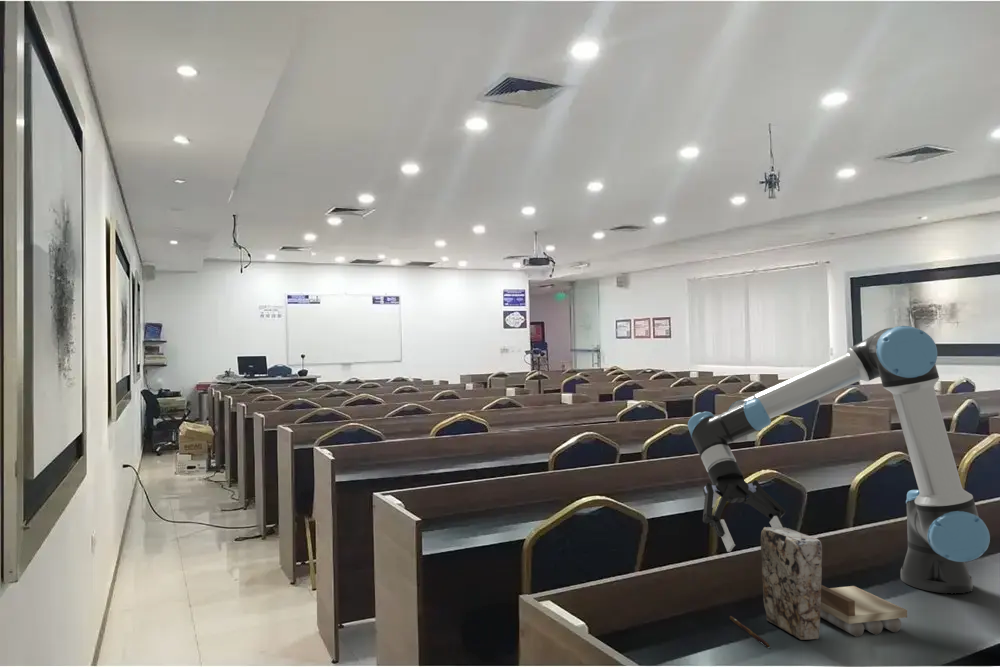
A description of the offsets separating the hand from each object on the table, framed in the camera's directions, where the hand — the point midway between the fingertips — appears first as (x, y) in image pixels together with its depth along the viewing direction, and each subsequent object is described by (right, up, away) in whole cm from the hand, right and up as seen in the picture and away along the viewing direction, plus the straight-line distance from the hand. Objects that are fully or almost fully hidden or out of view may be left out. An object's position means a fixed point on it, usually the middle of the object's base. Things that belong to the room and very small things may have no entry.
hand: (758, 546), depth 151 cm
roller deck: (+18, -14, -6) cm, 23 cm away
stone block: (+3, -14, -9) cm, 17 cm away
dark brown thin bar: (-6, -15, -11) cm, 20 cm away
